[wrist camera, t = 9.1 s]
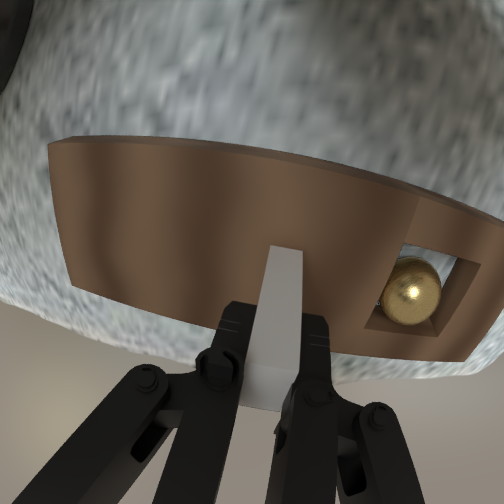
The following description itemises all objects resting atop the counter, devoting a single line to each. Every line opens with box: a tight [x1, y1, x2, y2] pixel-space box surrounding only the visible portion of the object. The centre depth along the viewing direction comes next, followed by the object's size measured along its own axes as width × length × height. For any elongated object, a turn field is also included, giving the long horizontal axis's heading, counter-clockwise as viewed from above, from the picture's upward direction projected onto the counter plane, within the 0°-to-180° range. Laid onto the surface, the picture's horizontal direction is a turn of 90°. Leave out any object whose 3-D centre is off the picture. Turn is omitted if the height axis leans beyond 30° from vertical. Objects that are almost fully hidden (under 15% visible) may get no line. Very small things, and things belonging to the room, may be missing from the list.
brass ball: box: [379, 257, 441, 325], centre depth 14 cm, size 4×4×4 cm
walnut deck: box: [48, 135, 504, 362], centre depth 15 cm, size 32×11×2 cm, turn 82°
